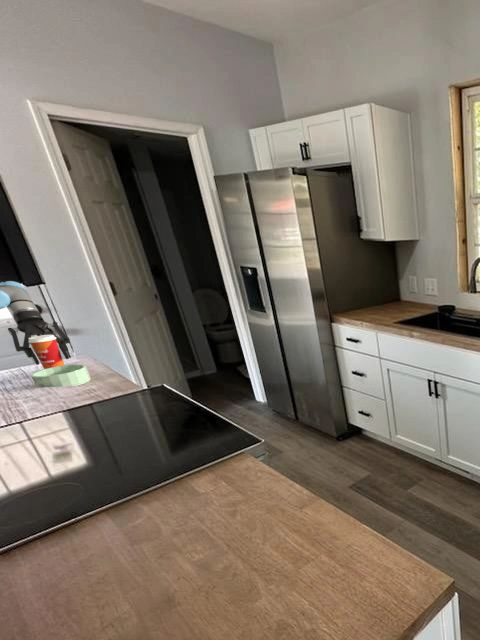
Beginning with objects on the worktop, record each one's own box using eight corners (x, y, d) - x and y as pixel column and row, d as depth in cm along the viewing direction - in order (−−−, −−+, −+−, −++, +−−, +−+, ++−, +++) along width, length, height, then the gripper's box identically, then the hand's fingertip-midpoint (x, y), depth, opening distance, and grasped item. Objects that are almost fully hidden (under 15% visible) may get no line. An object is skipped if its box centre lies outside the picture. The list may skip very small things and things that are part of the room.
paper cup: (36, 372, 165) (21, 338, 160) (60, 366, 172) (46, 333, 167) (50, 373, 163) (35, 339, 158) (74, 367, 170) (60, 334, 165)
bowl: (34, 385, 155) (28, 371, 153) (86, 374, 166) (81, 361, 164) (40, 394, 147) (33, 379, 145) (94, 382, 158) (88, 368, 156)
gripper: (63, 316, 177) (88, 358, 174) (-11, 326, 161) (16, 372, 158) (61, 305, 172) (86, 348, 169) (-15, 314, 156) (12, 361, 153)
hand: (52, 359), depth 164 cm, fingers closed on paper cup, 8 cm apart
